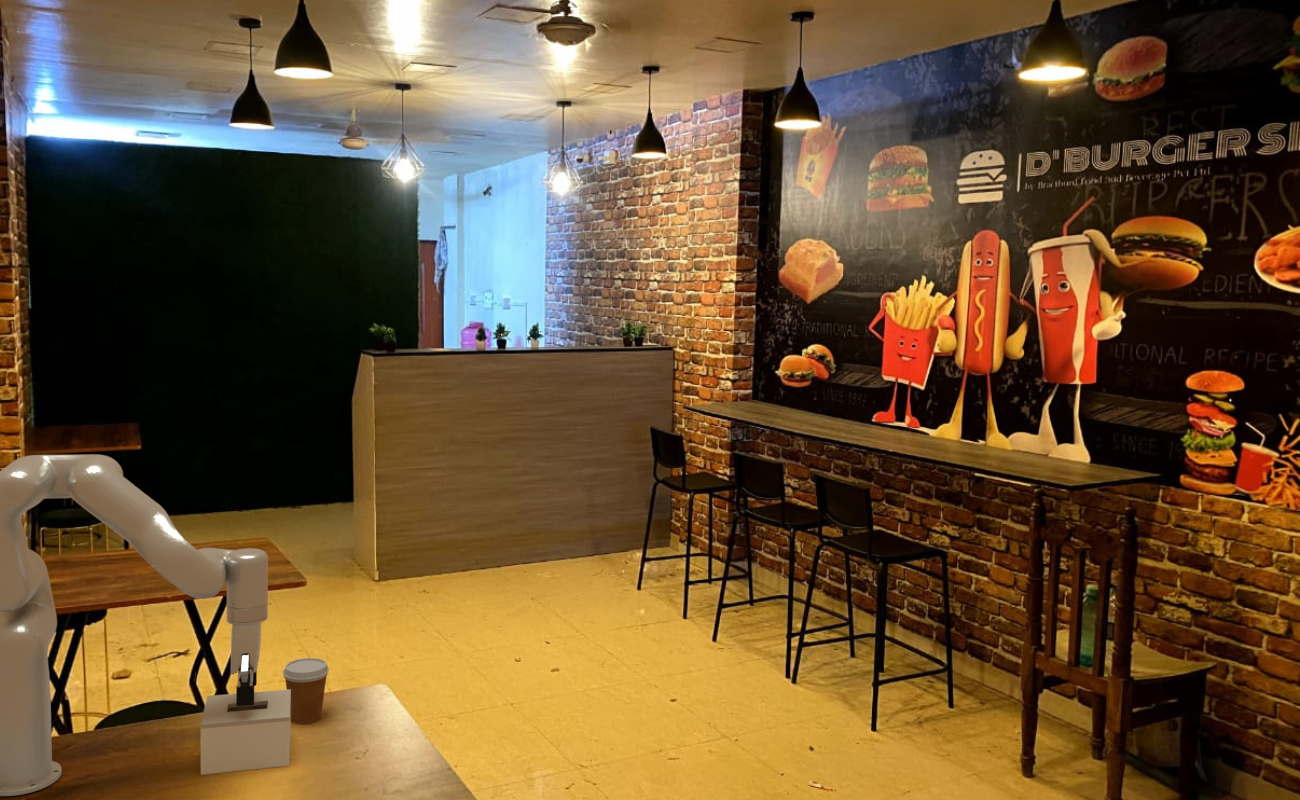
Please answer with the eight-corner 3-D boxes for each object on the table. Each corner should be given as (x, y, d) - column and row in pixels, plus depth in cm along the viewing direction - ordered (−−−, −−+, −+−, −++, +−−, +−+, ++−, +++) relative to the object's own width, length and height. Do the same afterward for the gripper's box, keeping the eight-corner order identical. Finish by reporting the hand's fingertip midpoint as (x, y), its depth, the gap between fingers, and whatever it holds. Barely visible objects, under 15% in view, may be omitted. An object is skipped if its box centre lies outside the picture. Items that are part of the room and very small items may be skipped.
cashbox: (200, 774, 196) (200, 724, 194) (207, 742, 209) (207, 695, 208) (289, 765, 201) (289, 717, 199) (290, 735, 214) (290, 689, 213)
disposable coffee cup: (314, 730, 217) (314, 675, 215) (273, 724, 219) (273, 670, 217) (336, 712, 226) (337, 660, 225) (297, 707, 228) (297, 655, 226)
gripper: (230, 599, 208) (229, 680, 210) (223, 627, 192) (222, 714, 194) (269, 597, 211) (268, 677, 213) (265, 625, 194) (265, 711, 196)
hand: (246, 695), depth 203 cm, fingers open, 9 cm apart
